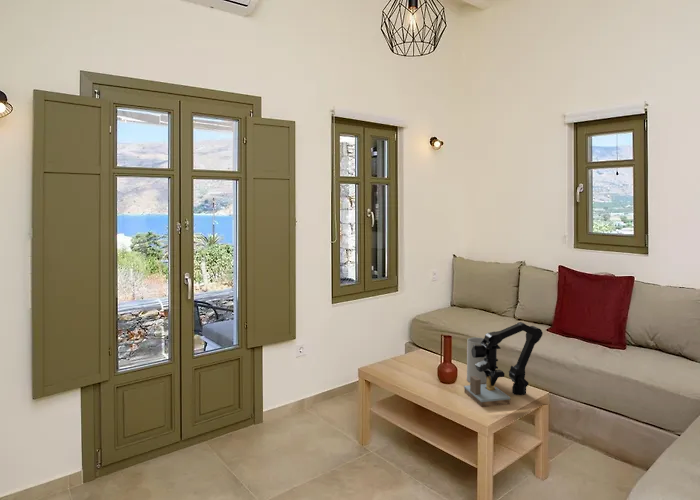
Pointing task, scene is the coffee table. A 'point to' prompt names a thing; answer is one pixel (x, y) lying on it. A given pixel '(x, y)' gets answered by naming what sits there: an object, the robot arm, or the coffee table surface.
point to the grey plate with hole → (484, 391)
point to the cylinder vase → (474, 361)
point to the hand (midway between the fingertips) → (490, 384)
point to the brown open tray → (489, 403)
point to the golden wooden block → (489, 384)
